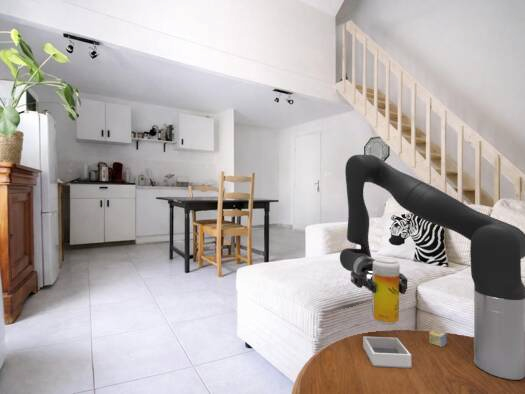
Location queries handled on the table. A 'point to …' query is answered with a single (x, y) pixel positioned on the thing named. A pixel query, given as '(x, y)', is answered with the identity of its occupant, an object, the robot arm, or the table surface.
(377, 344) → the white square tray
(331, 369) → the table surface
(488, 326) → the robot arm
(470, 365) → the table surface
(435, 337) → the alphabet block
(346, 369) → the table surface
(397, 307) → the beer can
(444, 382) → the table surface
